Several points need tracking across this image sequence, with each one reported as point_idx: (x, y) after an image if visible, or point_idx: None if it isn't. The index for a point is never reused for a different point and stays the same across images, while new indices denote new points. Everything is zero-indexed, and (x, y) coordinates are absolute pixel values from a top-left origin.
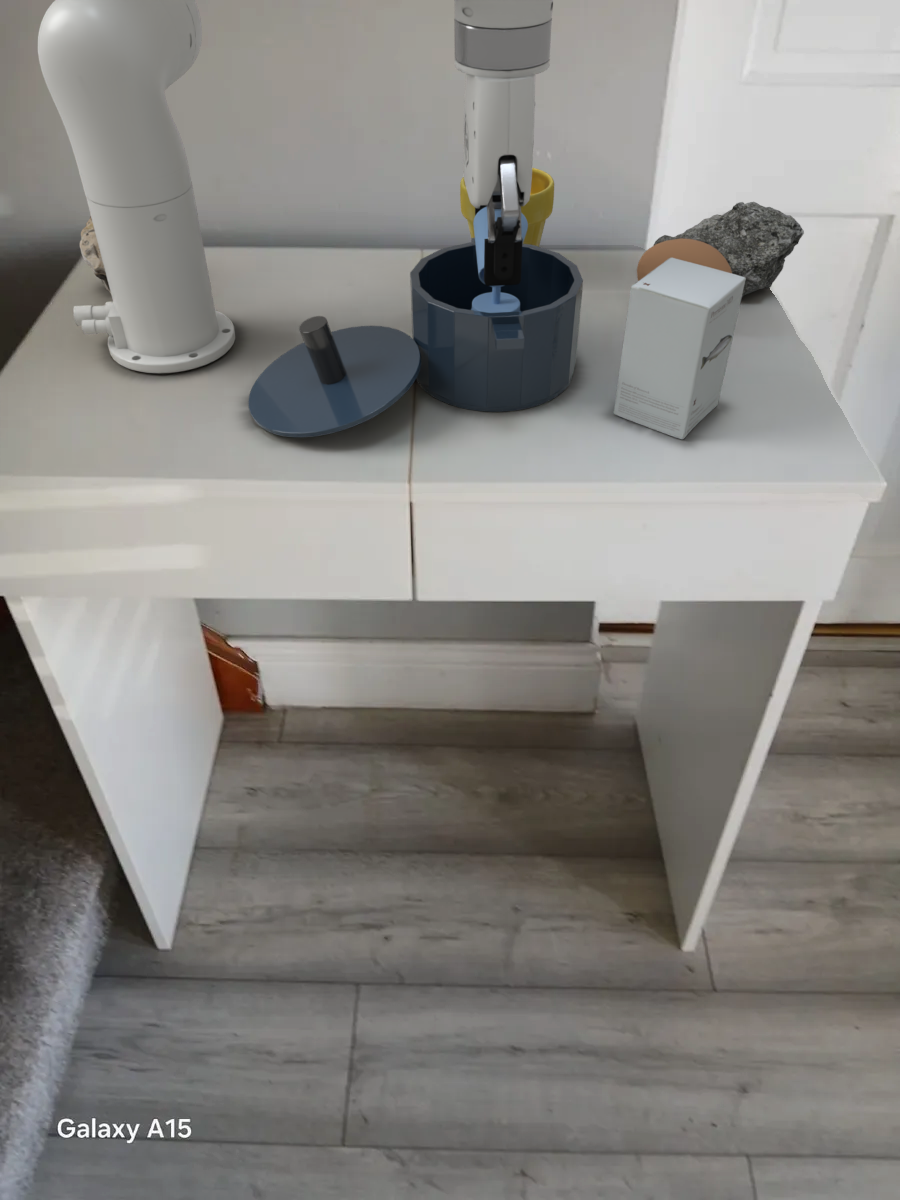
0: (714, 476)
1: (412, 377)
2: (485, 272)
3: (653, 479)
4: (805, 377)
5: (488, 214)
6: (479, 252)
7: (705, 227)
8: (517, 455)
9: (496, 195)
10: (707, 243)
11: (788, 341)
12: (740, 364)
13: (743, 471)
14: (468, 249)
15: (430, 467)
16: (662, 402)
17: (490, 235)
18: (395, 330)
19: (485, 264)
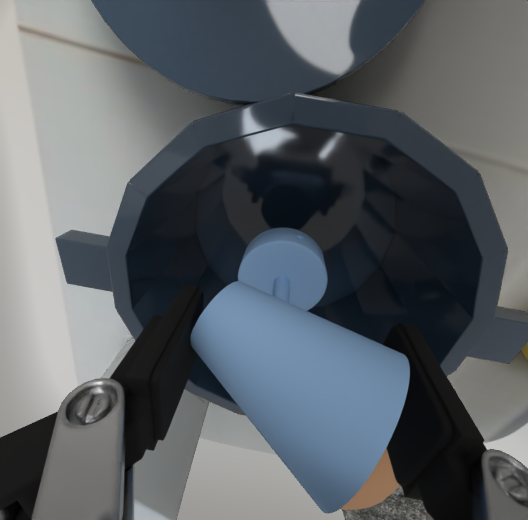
0: (77, 341)
1: (146, 62)
2: (172, 302)
3: (67, 302)
4: (212, 436)
5: (57, 503)
6: (256, 325)
7: (425, 511)
8: (96, 199)
9: (449, 517)
10: (400, 496)
11: (265, 449)
12: (239, 416)
13: (86, 359)
14: (469, 303)
15: (58, 73)
16: (122, 356)
17: (61, 412)
18: (349, 65)
19: (162, 317)
